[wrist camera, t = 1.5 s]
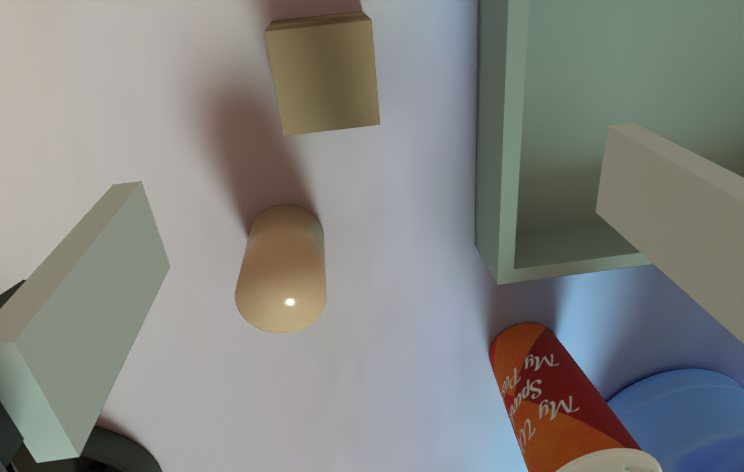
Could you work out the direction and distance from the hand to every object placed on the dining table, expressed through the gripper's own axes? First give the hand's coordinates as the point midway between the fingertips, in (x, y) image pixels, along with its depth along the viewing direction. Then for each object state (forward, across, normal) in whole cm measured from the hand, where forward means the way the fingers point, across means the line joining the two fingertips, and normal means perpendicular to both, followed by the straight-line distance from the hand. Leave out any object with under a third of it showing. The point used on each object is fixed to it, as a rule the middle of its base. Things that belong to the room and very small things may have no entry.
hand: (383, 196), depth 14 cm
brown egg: (+17, -5, -10) cm, 21 cm away
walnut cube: (+17, -1, +1) cm, 17 cm away
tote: (+17, +19, -3) cm, 25 cm away
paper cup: (+17, +12, -23) cm, 31 cm away
